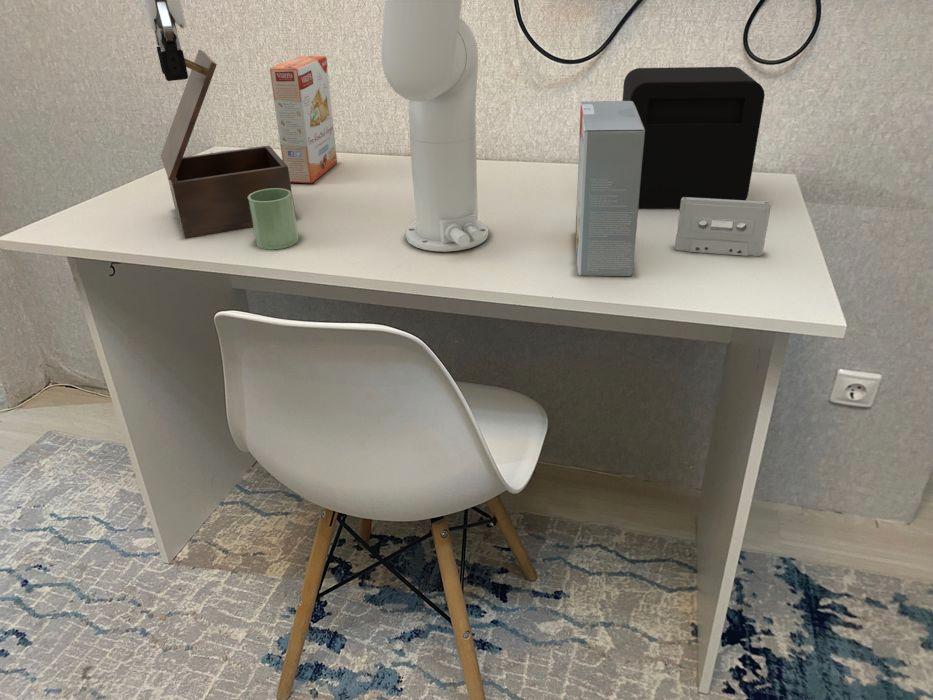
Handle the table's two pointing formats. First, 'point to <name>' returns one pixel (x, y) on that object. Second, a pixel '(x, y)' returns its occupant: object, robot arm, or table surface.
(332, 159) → the cracker box
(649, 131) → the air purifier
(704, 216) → the cassette
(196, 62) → the chest lid
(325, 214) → the table surface
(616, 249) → the hard drive box
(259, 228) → the cup
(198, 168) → the chest
